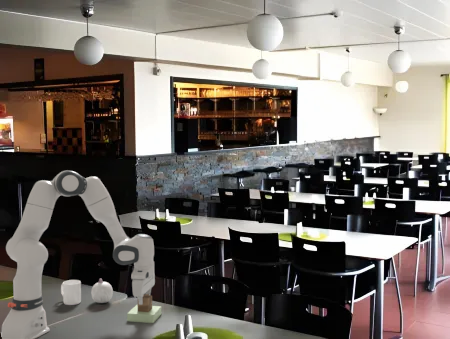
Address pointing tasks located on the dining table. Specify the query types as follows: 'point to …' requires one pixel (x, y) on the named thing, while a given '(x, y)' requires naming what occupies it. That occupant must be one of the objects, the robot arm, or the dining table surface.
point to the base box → (144, 314)
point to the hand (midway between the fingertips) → (144, 300)
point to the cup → (71, 292)
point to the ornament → (102, 292)
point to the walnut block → (145, 304)
